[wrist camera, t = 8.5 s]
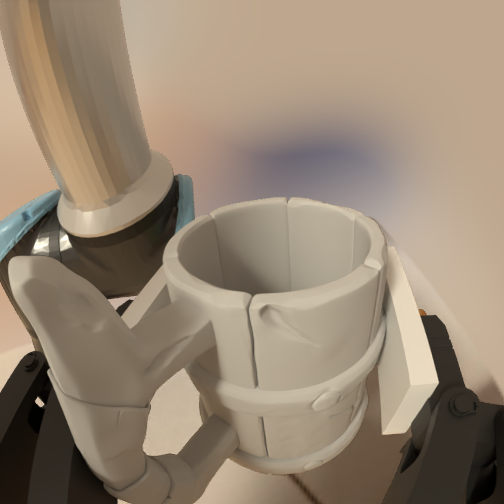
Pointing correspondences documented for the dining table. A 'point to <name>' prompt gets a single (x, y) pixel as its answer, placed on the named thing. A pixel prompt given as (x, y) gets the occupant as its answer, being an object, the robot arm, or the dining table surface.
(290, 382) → the mug
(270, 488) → the dining table surface
